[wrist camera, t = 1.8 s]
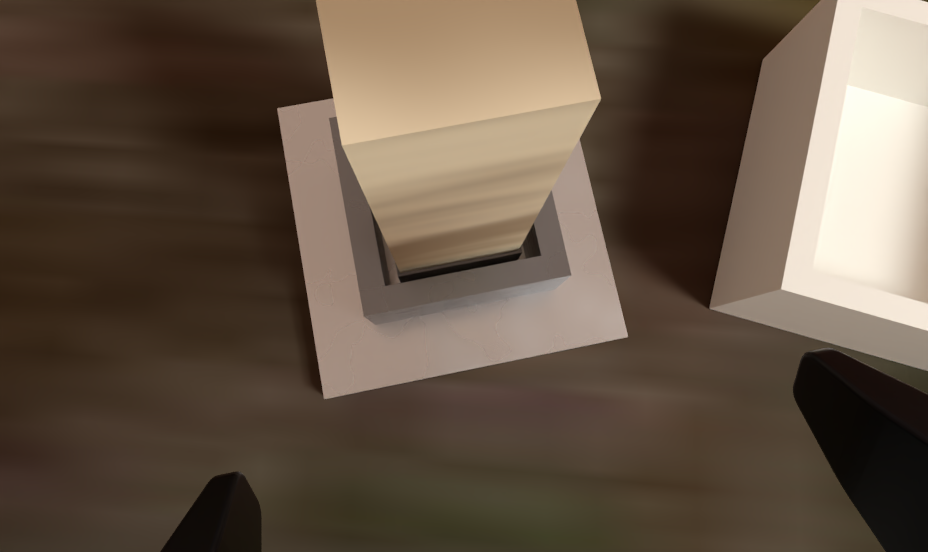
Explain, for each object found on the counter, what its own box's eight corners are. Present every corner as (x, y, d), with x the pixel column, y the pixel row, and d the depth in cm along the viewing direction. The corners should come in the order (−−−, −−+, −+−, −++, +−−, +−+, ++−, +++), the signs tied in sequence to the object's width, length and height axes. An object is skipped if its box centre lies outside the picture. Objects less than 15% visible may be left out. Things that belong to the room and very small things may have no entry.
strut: (515, 263, 22) (609, 103, 9) (402, 285, 22) (336, 153, 9) (492, 156, 23) (548, -133, 10) (382, 176, 22) (293, -93, 10)
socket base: (621, 338, 22) (656, 330, 19) (328, 398, 22) (303, 402, 18) (556, 68, 24) (575, 12, 20) (282, 117, 24) (251, 67, 20)
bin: (984, 387, 23) (1135, 389, 18) (709, 308, 23) (780, 289, 18) (1018, 129, 24) (1164, 66, 19) (762, 59, 25) (842, -21, 20)
